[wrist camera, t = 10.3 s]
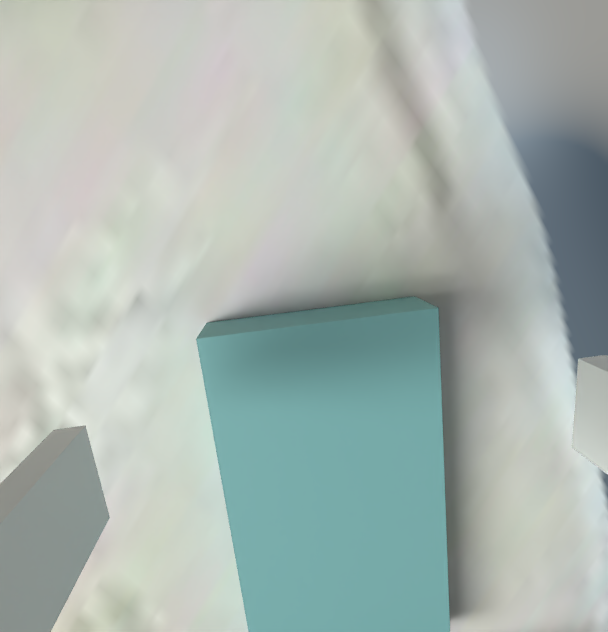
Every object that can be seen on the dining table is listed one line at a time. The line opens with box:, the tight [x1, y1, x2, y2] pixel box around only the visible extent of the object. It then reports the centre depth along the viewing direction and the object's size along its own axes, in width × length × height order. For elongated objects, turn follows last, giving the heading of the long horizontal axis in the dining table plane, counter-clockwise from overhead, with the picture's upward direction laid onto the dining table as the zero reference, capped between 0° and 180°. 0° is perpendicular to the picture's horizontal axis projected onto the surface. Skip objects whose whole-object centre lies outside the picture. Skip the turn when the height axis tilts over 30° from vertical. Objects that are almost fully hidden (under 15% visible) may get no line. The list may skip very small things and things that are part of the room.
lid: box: [196, 296, 450, 632], centre depth 18 cm, size 18×9×3 cm, turn 6°
